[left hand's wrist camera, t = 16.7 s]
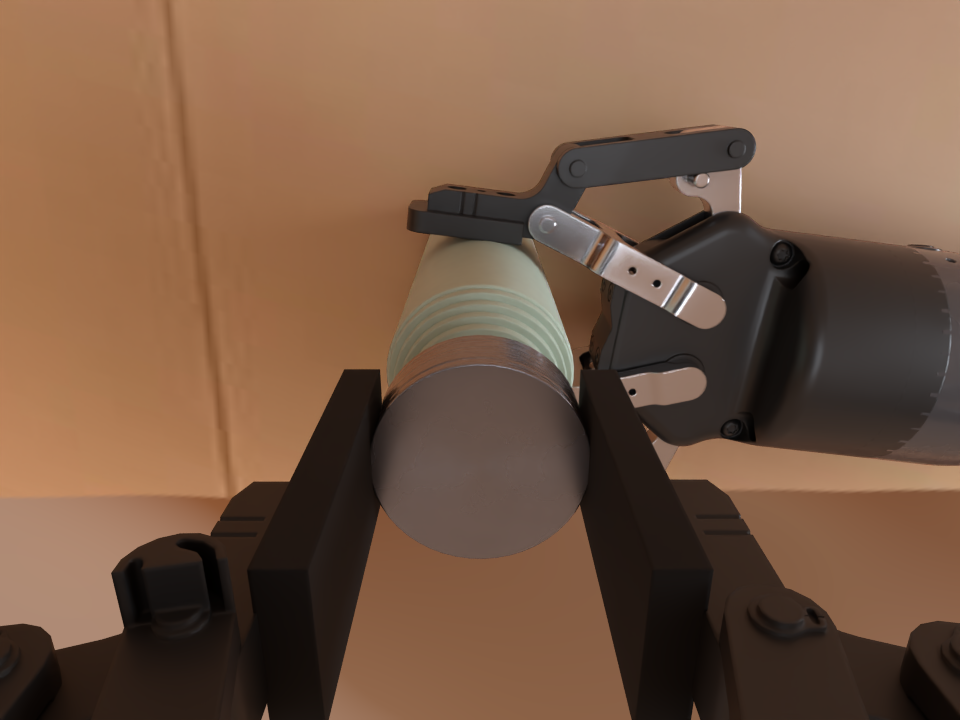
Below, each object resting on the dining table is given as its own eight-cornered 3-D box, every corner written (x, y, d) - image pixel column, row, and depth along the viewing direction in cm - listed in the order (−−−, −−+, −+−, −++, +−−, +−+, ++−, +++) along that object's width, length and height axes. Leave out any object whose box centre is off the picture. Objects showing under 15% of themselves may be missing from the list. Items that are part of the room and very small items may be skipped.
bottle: (505, 330, 31) (532, 580, 15) (407, 285, 30) (326, 499, 14) (555, 233, 29) (643, 400, 13) (452, 183, 29) (418, 299, 13)
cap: (400, 312, 14) (390, 340, 12) (605, 358, 14) (621, 391, 13) (364, 491, 15) (351, 536, 14) (549, 529, 16) (557, 577, 14)
